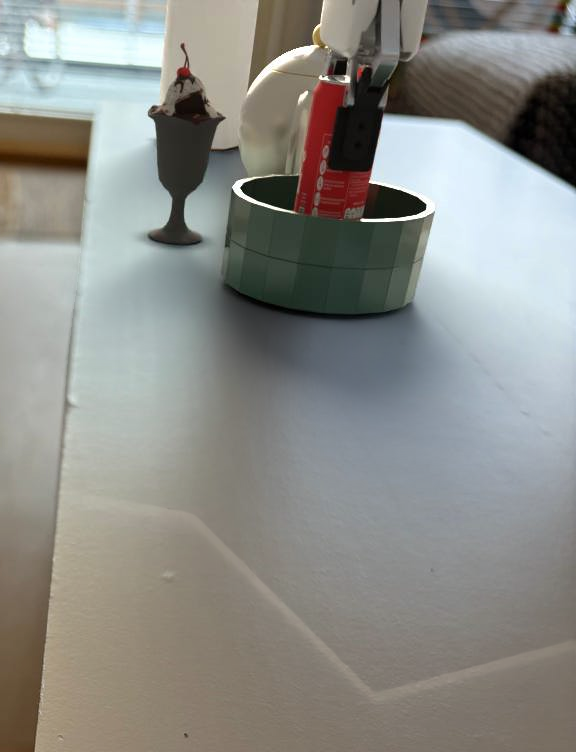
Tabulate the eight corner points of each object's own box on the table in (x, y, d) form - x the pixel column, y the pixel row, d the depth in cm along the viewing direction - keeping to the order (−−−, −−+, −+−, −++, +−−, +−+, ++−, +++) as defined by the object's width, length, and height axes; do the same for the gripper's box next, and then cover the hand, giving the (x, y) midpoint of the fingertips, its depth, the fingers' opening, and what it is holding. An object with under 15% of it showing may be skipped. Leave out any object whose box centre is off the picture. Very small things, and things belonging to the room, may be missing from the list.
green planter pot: (382, 265, 85) (401, 178, 80) (437, 324, 73) (464, 225, 68) (209, 258, 84) (220, 169, 80) (236, 316, 72) (250, 215, 67)
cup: (206, 133, 134) (223, -30, 123) (257, 148, 126) (281, -24, 115) (139, 136, 129) (151, -33, 118) (188, 153, 121) (206, -26, 110)
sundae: (162, 223, 92) (178, 39, 83) (224, 237, 89) (247, 47, 81) (124, 236, 88) (136, 43, 79) (187, 251, 85) (208, 52, 76)
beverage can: (311, 265, 74) (344, 85, 67) (275, 246, 77) (302, 74, 70) (367, 261, 76) (405, 85, 68) (329, 243, 79) (361, 74, 72)
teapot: (240, 190, 106) (264, 11, 96) (367, 205, 103) (404, 23, 93) (209, 228, 92) (233, 24, 82) (354, 247, 89) (397, 38, 79)
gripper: (504, -154, 55) (422, 190, 66) (414, -141, 69) (358, 143, 80) (375, -164, 55) (314, 184, 65) (310, -149, 68) (268, 138, 79)
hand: (339, 158), depth 72 cm, fingers closed on beverage can, 5 cm apart
